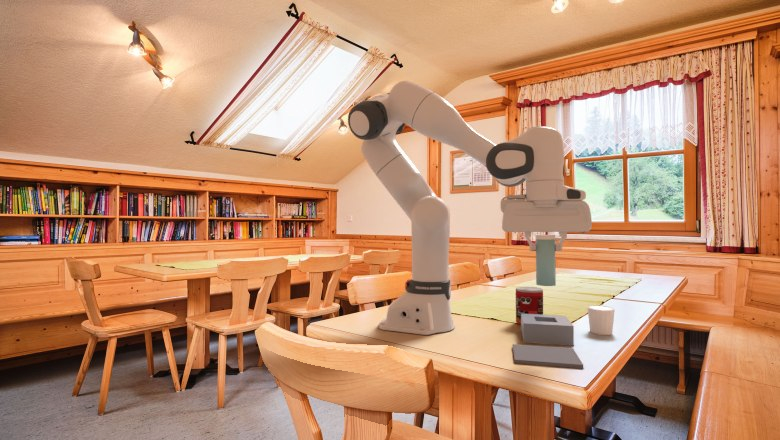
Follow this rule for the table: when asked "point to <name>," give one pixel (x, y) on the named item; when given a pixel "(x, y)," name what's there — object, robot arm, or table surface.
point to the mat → (546, 356)
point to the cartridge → (545, 260)
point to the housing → (547, 329)
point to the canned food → (528, 301)
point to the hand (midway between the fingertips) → (545, 251)
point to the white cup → (601, 319)
